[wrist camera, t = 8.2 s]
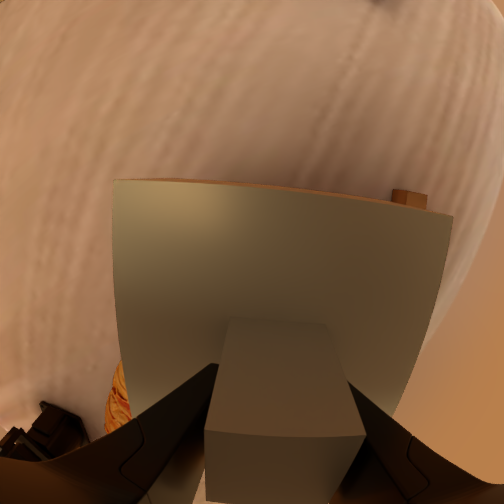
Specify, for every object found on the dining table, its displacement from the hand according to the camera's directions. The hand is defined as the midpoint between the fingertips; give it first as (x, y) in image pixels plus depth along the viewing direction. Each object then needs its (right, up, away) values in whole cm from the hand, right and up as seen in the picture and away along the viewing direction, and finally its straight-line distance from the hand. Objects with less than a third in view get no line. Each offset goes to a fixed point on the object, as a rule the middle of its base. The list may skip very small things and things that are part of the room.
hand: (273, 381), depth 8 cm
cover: (0, +2, +7) cm, 7 cm away
